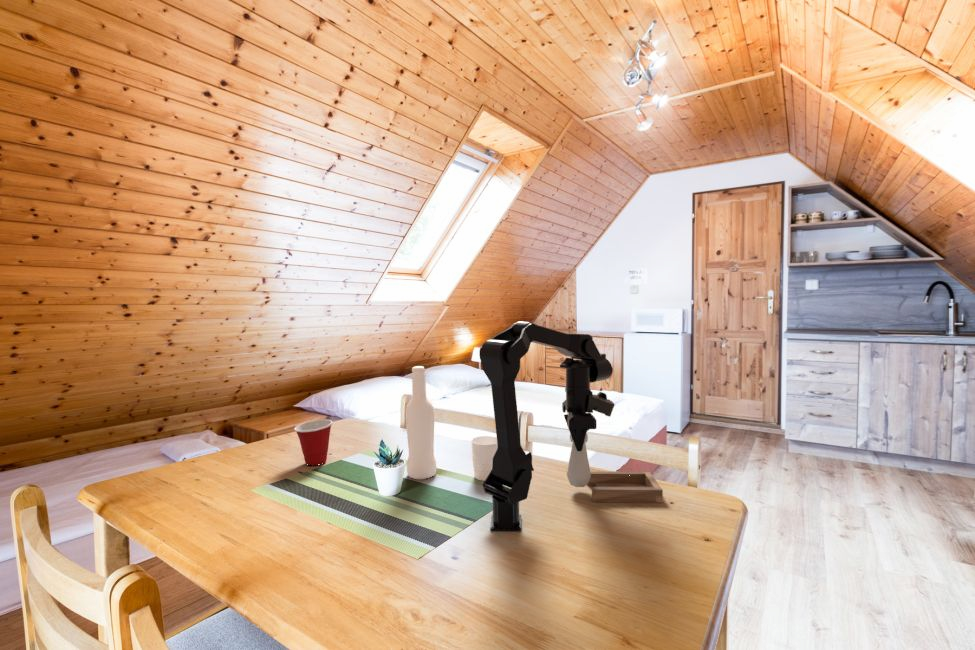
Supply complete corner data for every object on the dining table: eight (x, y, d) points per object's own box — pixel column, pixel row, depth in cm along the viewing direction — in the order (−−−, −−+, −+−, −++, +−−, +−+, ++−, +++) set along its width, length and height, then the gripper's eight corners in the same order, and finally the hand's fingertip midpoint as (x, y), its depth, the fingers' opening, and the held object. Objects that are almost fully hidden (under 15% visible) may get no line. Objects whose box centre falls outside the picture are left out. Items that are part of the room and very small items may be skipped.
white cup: (489, 484, 126) (488, 446, 126) (466, 478, 131) (465, 441, 130) (507, 474, 133) (506, 438, 132) (484, 469, 137) (483, 434, 137)
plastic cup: (294, 460, 148) (292, 421, 147) (331, 454, 153) (330, 417, 152) (297, 472, 138) (295, 430, 137) (336, 465, 143) (334, 425, 142)
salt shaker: (592, 488, 117) (592, 435, 116) (568, 488, 117) (568, 435, 116) (588, 479, 123) (588, 428, 122) (565, 479, 123) (565, 428, 122)
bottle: (431, 481, 129) (427, 369, 127) (402, 479, 131) (398, 368, 129) (440, 470, 137) (437, 364, 135) (413, 468, 139) (409, 364, 137)
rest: (662, 502, 113) (662, 489, 113) (592, 502, 114) (592, 489, 114) (649, 483, 125) (649, 471, 125) (586, 482, 126) (586, 471, 126)
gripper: (619, 392, 109) (619, 461, 110) (604, 378, 127) (605, 437, 128) (568, 392, 109) (569, 461, 110) (561, 378, 128) (562, 437, 129)
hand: (578, 448), depth 120 cm, fingers closed on salt shaker, 4 cm apart
